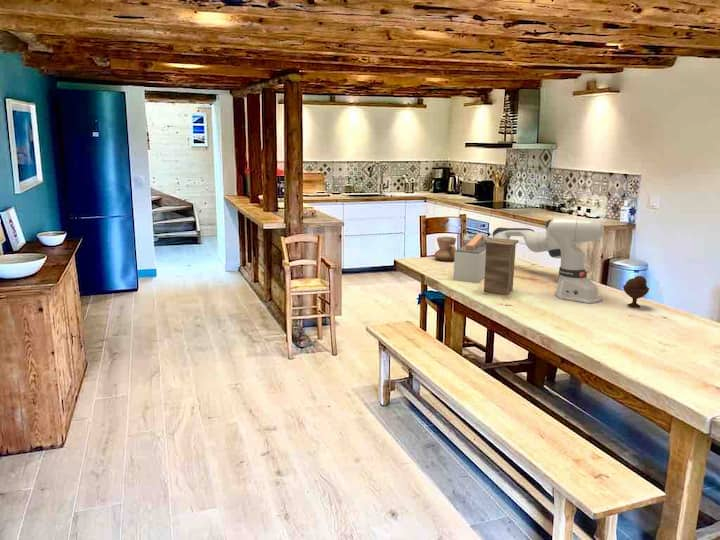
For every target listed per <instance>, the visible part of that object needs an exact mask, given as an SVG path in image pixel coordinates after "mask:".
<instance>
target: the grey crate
mask: <svg viewBox="0 0 720 540" xmlns="http://www.w3.org/2000/svg"><path fill="white" fill-rule="evenodd" d="M485 260H486V247H478V246H477V247H476V248H475V249H474V250H467V249H466V244H465V245H463V246H461V247H459V248H457V249H456V251H455V257H454V260H453V278H452V279H453V280H455V281H463V282H470V283H479V282H481V281H482V280H484V278H485Z"/></svg>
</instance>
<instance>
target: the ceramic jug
mask: <svg viewBox="0 0 720 540" xmlns="http://www.w3.org/2000/svg"><path fill="white" fill-rule="evenodd" d="M436 242H437V246H438V250H437V251H435V252H434V258H435V259H436V260H439V261H443V262H451V261H454V257H455V251H456V250H457V249H456V246H455V245H456V242H457V238H456V237H453V236H438V237H437V238H436Z"/></svg>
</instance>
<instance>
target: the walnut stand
mask: <svg viewBox="0 0 720 540" xmlns="http://www.w3.org/2000/svg"><path fill="white" fill-rule="evenodd" d="M518 243H519V240H518V239H498V238H490V239H489V240H487V241H485V242H484V244H486V260H485V278H484V279H483V280H484V281H483V293H488V294H495V295H496V294H497V295H503V296H504V295H505V296H508V295H509V294H510V293H511V292H513V289H514V276H515V275H514V274H515V273H514V272H515V263H516V262H515V261H516V260H515V259H516V258H515V257H516V248H517V244H518Z"/></svg>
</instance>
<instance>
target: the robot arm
mask: <svg viewBox="0 0 720 540" xmlns="http://www.w3.org/2000/svg"><path fill="white" fill-rule="evenodd" d="M604 232H605V228H604V225H603V223H602V222H601V221H600V220H595V219H593V218H592V219H591V218H576V217H552V218H550V219H548V220H547V221H546V222H545V231H542V232H535V229H533V228H529V227H527V228H525V227H524V228H522V227H521V228H520V227H513V228H512V227H497V228H495V229H494V230H493V232H492V236H487V235H486V234H485V235H482V239H483V240H482V241H481V242H480V243H479V244H478V247H486V244H484V242H485V241H487V240H489V239H490V238H498V239H509V240H511V239H510V238H511V237H523V240H524V242H525V243H524V244H526V247H527V248H528V249H529V250H530V251H531V252H534V253H543V252H548V255H549V256H550V257H551V258H554V259H560V266H559V268H558V282H557V286H556V290H555V292H554V295H555V296H556V297H558V298H557V299H561V300H567V301H573V302H579V303H585V304H594V303H595V304H596V303H598V302H601V301H602V300H603V296H601V295H599V291H598V286H597V285H596V284H595V283H594V282H593V281H592V280H591V279H590V278H589V277H587V275H588V274H589V272H590V271H589V270H587V271H586V269H585V262H586V261H585V260H586V255H585V252H584V250H583V249H581V248H579V247H578V246H576V245H579V244H580V243H588V242H596V241H599V240H600V239H601V238H602V237H604ZM476 235H477V234H476V233H472V234H464V235H463V237H462V238H463V239H462V240H463V243H464V244H465V245H467V244H468V243H469V242H470V241H471V240H472V239H473V238H474V237H475V236H476Z"/></svg>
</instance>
